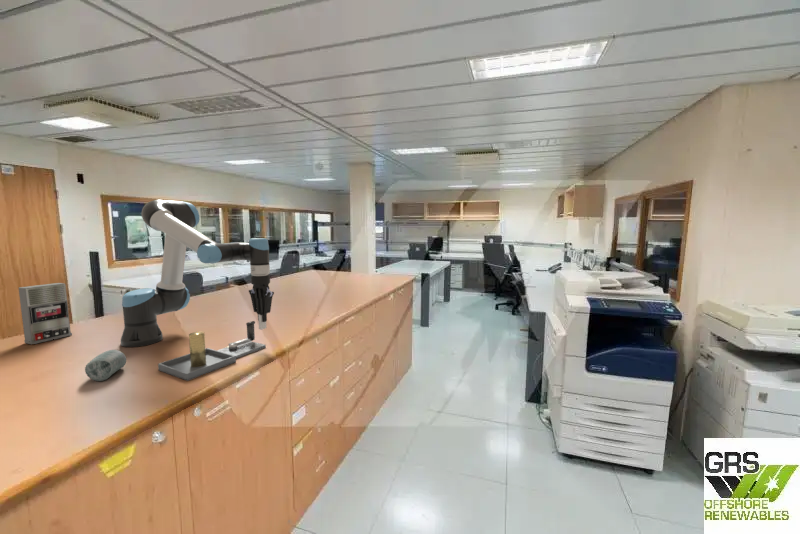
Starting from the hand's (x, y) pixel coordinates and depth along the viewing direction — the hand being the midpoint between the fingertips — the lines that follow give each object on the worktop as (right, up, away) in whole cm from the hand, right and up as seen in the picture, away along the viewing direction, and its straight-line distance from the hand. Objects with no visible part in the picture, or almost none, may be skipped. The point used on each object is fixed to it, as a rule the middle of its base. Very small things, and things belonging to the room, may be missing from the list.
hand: (262, 328), depth 145 cm
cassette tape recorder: (-101, -7, +8) cm, 101 cm away
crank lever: (-9, -7, +1) cm, 11 cm away
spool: (-44, -12, -27) cm, 53 cm away
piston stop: (-17, -10, -18) cm, 27 cm away
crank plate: (-8, -9, -3) cm, 13 cm away
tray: (-17, -11, -18) cm, 27 cm away
